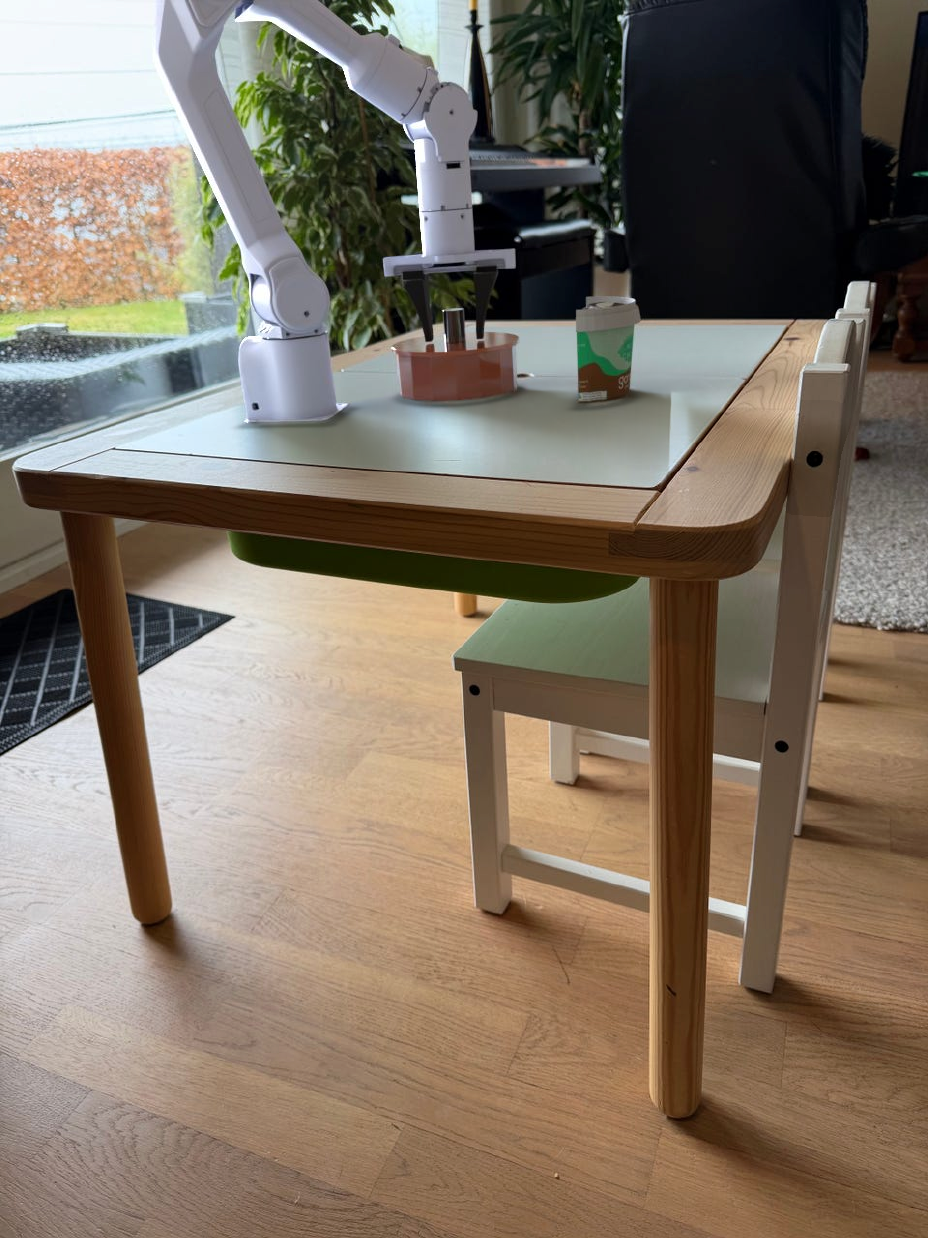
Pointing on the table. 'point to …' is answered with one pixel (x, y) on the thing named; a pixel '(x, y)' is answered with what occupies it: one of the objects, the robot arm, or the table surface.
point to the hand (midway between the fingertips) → (454, 339)
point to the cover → (455, 340)
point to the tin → (457, 376)
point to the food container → (605, 347)
